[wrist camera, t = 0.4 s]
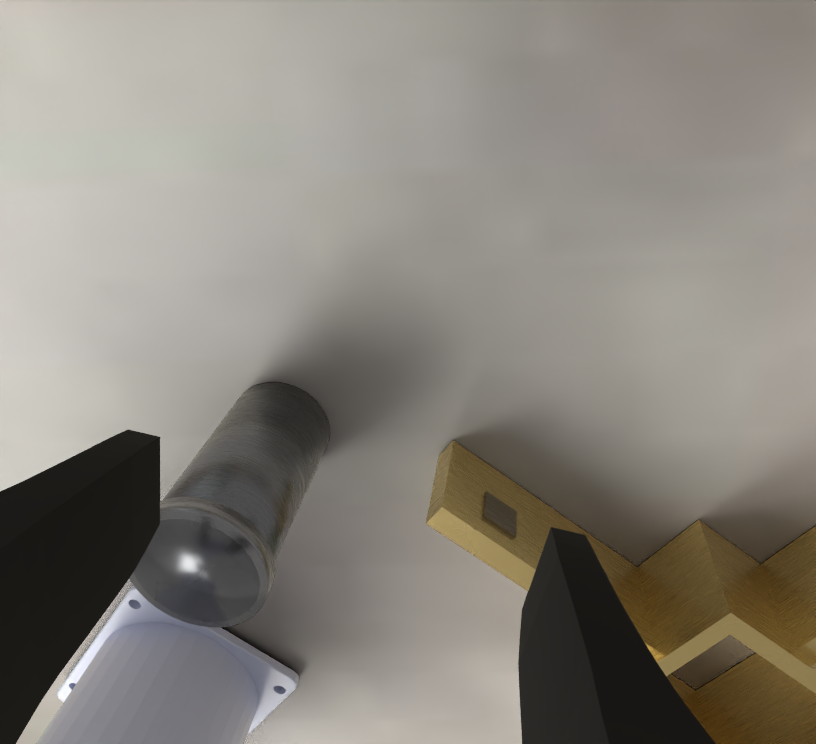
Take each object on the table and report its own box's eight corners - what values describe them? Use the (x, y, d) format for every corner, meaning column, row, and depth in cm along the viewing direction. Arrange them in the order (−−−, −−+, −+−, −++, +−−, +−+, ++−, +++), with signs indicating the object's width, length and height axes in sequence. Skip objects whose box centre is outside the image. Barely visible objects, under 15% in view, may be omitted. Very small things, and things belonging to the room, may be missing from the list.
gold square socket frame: (695, 706, 26) (721, 811, 23) (392, 505, 24) (369, 588, 21) (1071, 475, 20) (1189, 573, 16) (704, 171, 18) (749, 209, 14)
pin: (300, 490, 24) (225, 648, 18) (209, 431, 24) (100, 575, 18) (356, 420, 23) (295, 570, 17) (260, 355, 22) (159, 485, 16)
